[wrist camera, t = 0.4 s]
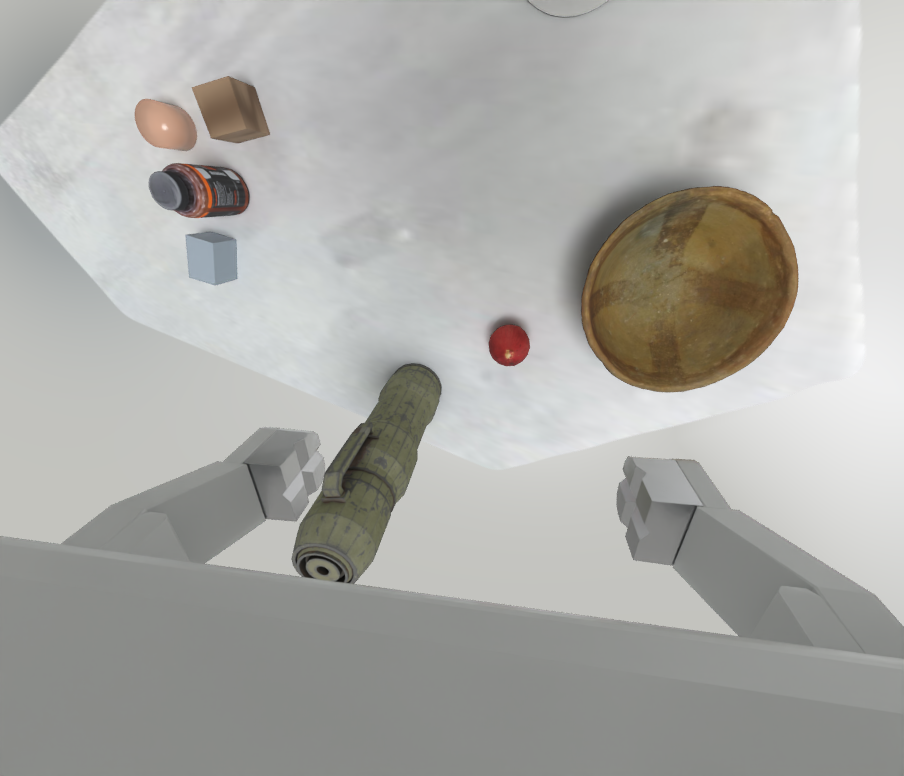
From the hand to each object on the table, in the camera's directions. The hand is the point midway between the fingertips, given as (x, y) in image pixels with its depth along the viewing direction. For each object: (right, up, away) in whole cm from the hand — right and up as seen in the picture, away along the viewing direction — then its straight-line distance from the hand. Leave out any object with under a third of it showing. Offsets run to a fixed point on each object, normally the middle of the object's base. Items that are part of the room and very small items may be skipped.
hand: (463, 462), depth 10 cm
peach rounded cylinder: (-37, +37, +40) cm, 66 cm away
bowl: (+27, +16, +40) cm, 51 cm away
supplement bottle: (-32, +30, +43) cm, 61 cm away
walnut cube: (-27, +37, +38) cm, 60 cm away
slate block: (-35, +22, +47) cm, 63 cm away
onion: (+8, +10, +46) cm, 48 cm away
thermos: (-6, +2, +53) cm, 53 cm away
